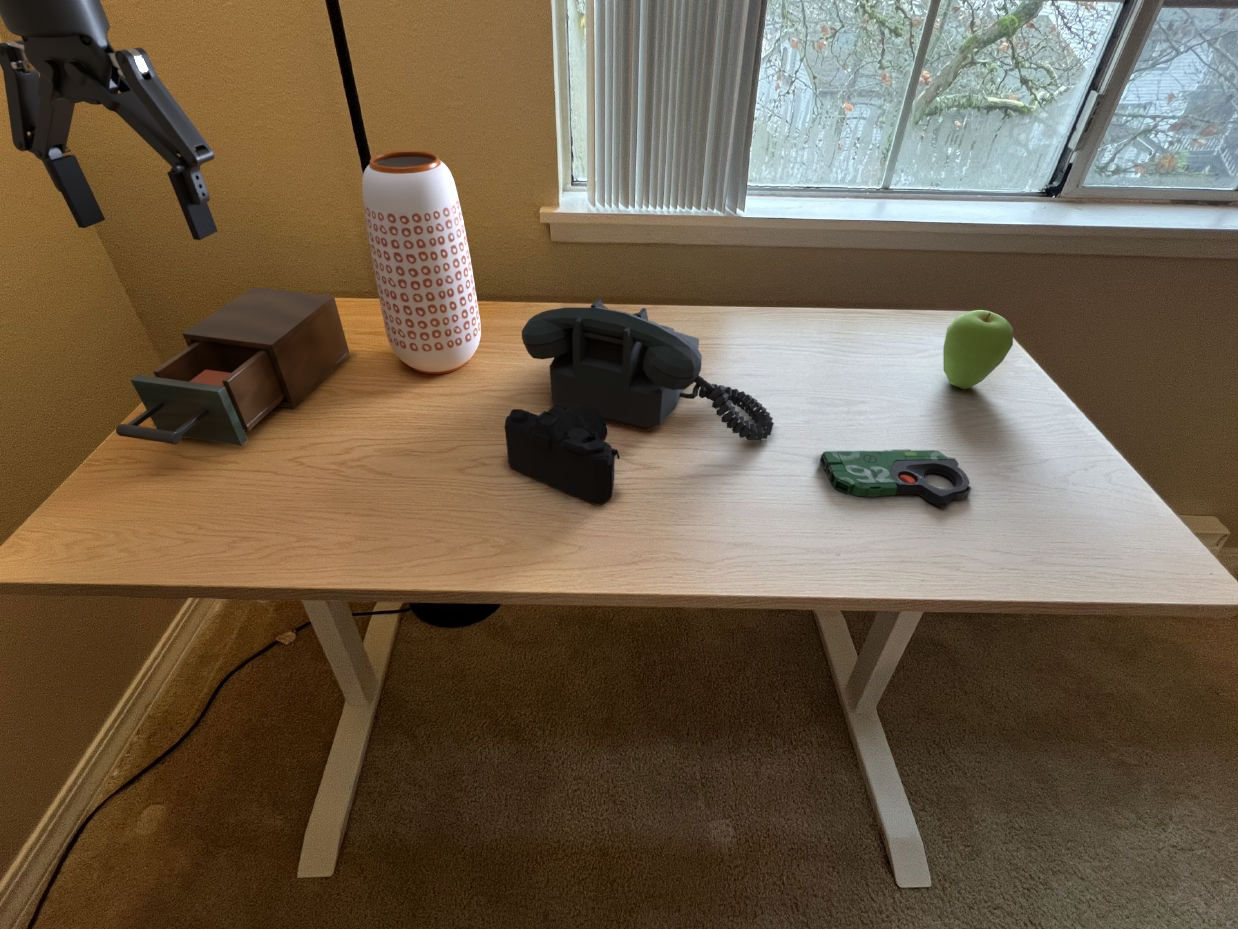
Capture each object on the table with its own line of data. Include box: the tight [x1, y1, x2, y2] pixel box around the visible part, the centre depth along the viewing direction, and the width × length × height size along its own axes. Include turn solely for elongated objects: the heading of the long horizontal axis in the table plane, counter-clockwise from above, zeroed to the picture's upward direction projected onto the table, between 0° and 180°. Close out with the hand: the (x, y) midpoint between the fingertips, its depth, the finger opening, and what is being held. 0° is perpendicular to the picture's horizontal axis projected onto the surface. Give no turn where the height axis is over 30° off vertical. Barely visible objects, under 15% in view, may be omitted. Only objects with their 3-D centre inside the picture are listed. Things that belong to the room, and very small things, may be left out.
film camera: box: [503, 404, 621, 505], centre depth 75 cm, size 15×10×9 cm, turn 58°
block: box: [189, 370, 231, 386], centre depth 80 cm, size 4×4×4 cm
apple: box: [942, 309, 1014, 390], centre depth 91 cm, size 9×8×12 cm
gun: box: [819, 449, 972, 508], centre depth 77 cm, size 16×1×10 cm
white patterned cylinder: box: [361, 150, 482, 375], centre depth 88 cm, size 13×13×28 cm
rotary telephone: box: [521, 298, 775, 442], centre depth 86 cm, size 33×22×15 cm, turn 69°
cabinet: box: [181, 286, 351, 409], centre depth 89 cm, size 15×13×10 cm
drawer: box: [115, 341, 285, 447], centre depth 79 cm, size 20×11×8 cm, turn 169°
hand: (148, 229), depth 68 cm, fingers open, 13 cm apart
